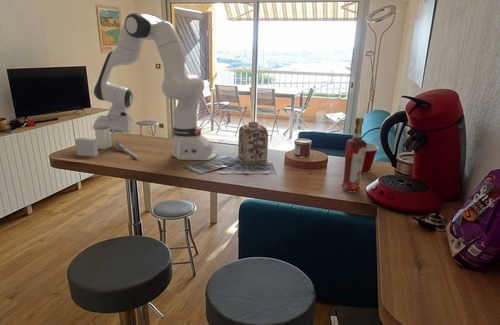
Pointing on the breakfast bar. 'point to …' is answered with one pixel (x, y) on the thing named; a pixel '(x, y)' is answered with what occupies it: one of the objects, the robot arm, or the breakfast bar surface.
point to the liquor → (354, 158)
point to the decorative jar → (253, 142)
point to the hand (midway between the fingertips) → (107, 138)
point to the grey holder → (88, 147)
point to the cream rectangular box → (103, 137)
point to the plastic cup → (369, 156)
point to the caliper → (125, 150)
